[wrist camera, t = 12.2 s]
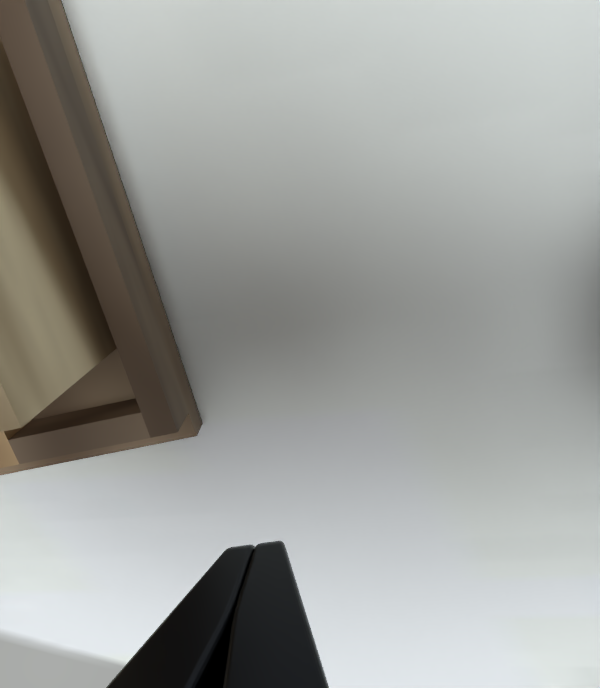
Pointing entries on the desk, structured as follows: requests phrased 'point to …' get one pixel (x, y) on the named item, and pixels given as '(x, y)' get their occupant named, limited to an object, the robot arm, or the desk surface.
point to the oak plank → (39, 276)
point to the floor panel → (93, 265)
